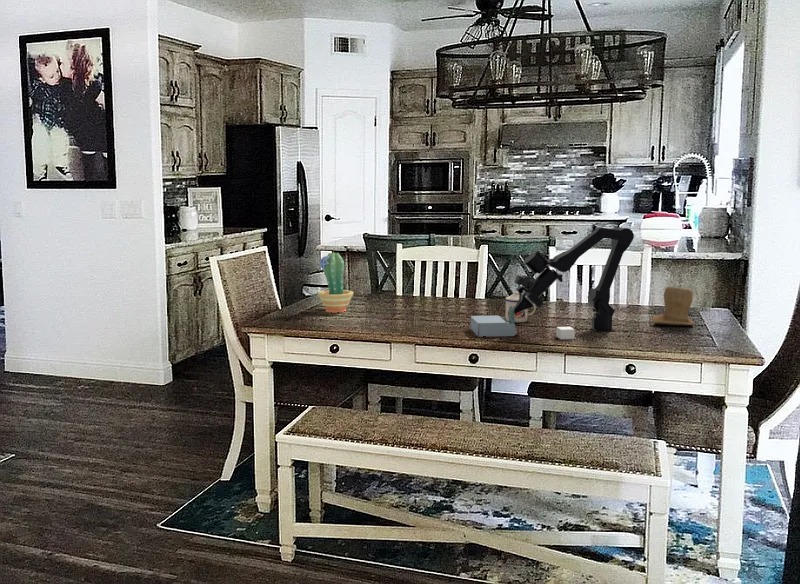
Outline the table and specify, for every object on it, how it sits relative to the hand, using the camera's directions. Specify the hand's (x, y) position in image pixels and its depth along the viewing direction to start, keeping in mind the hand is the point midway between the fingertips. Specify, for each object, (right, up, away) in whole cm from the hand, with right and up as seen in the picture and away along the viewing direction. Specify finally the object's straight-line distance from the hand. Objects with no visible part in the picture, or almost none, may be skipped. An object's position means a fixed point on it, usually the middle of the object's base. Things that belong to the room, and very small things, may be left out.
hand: (513, 312), depth 289 cm
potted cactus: (-69, -1, +46) cm, 83 cm away
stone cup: (+64, -5, +15) cm, 66 cm away
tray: (-7, -7, 0) cm, 10 cm away
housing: (-7, -7, 0) cm, 10 cm away
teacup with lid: (+6, -4, +24) cm, 25 cm away
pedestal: (+17, -9, -9) cm, 21 cm away
